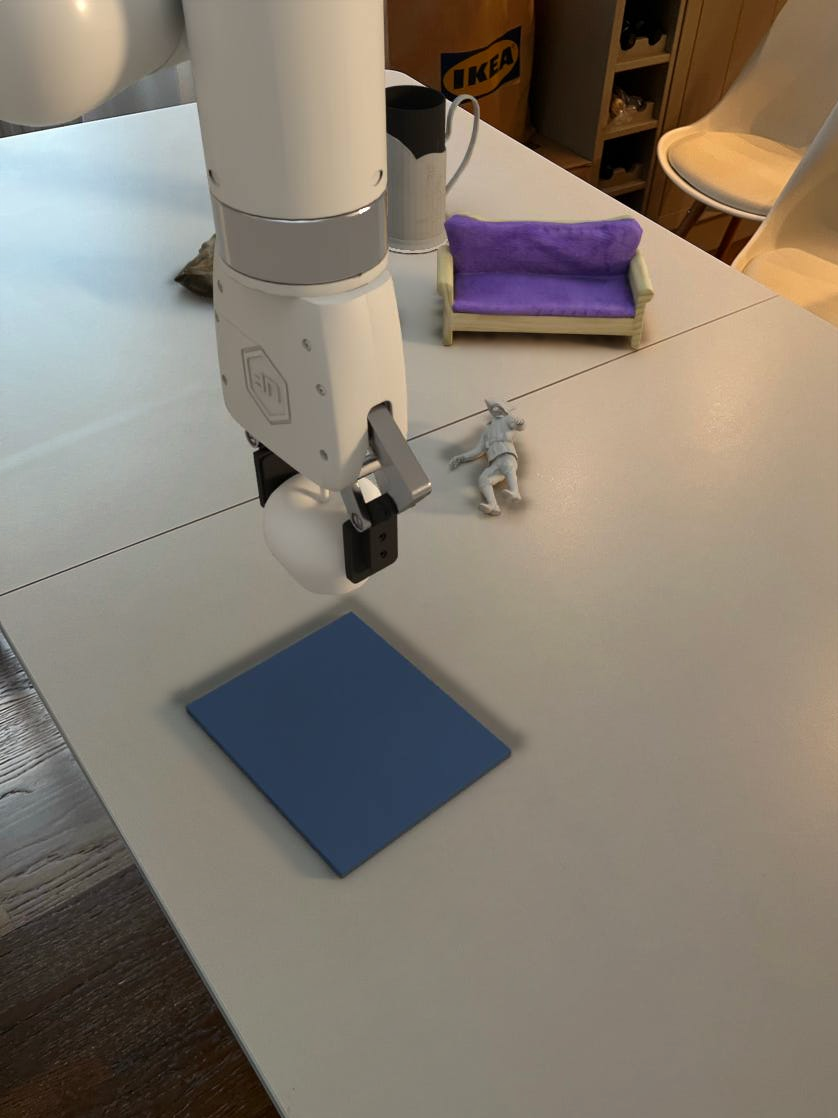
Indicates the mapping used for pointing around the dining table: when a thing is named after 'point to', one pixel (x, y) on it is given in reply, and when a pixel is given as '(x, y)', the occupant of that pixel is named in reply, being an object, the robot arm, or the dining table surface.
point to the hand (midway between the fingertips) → (327, 532)
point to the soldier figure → (497, 454)
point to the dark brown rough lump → (199, 271)
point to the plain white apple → (311, 533)
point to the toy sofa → (543, 276)
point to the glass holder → (419, 164)
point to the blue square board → (347, 740)
